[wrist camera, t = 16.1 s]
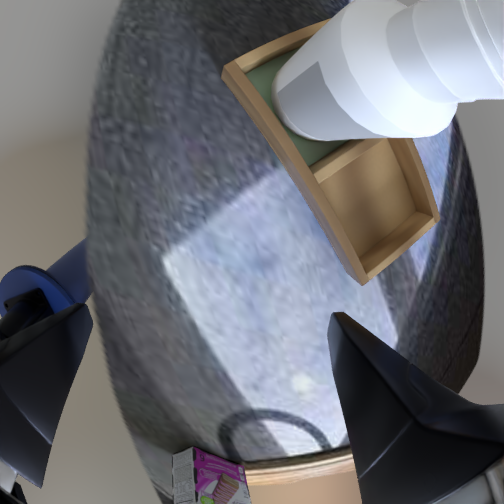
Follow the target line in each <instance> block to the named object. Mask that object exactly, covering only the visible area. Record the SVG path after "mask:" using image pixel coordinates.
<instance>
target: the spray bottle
mask: <svg viewBox="0 0 504 504" xmlns="http://www.w3.org/2000/svg"><path fill="white" fill-rule="evenodd" d="M477 99H504V0H426V1H419V2H417V3H415V4H413V5H411V6H409V7H408V6H406V5H404V4H402V3H400V2H398V1H396V0H354V1H352V2H351V3H350V4H348V5H347V6H346V7H344V8H343V9H342V10H341V11H340V12H339V13H337V14H336V15H335V16H334V17H333V18H332V19H331V20H330V21H328V22H327V23H326V24H325V25H324V26H323V27H322V28H321V29H320V30H319V31H318V32H317V33H315V34H314V35H313V36H312V37H311V38H310V39H309V40H308V41H307V42H306V43H305V44H304V45H303V46H302V47H301V48H300V49H299V50H298V51H297V52H296V53H295V54H294V55H293V56H292V57H291V58H290V59H289V60H288V61H287V62H286V63H285V65H284V66H283V67H282V68H281V69H280V70H279V71H278V72H277V73H276V76H275V78H274V80H273V82H272V86H271V100H272V104H273V107H274V111H275V113H276V114H277V116H278V117H279V119H280V120H281V122H282V124H283V125H284V126H286V127H287V128H288V129H289V130H290V131H291V132H293V133H294V134H296V135H298V136H300V137H302V138H304V139H307V140H313V141H320V142H321V141H333V140H347V139H366V138H419V137H427V136H433V135H436V134H438V133H439V132H440V131H442V130H443V129H445V128H446V127H447V126H448V125H449V123H450V122H451V120H452V118H453V116H454V115H455V113H456V110H457V105H458V102H473V101H475V100H477Z"/></svg>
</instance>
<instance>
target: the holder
mask: <svg viewBox="0 0 504 504" xmlns="http://www.w3.org/2000/svg"><path fill="white" fill-rule="evenodd" d="M331 19H332V18H331ZM331 19H327V20H324V21H321V22H319V23H316V24H313V25H310V26H307V27H305V28H302V29H300V30H297V31H294V32H292V33H290V34H287V35H285V36H282V37H280V38H278V39H276V40H273V41H271V42H269V43H267V44H265V45H262V46H260V47H258V48H256V49H254V50H252V51H250V52H248V53H246V54H244V55H242V56H240V57H239V58H237V59H235V60H233V61H231V62H229V63H228V64H226V65H224V67H223V71H222V76H221V79H222V80H223V81H224V82H225V84H226V85H227V86H228V88H229V89H230V90H231V92H232V93H233V94H234V96H235V97H236V98H237V100H238V101H239V102H240V104H241V105H242V106H243V108H244V109H245V111H246V112H247V113H248V115H249V116H250V117H251V119H252V120H253V122H254V123H255V125H256V126H257V127H258V129H259V130H260V132H261V133H262V135H263V136H264V137H265V139H266V140H267V142H268V143H269V145H270V146H271V148H272V149H273V151H274V152H275V154H276V155H277V157H278V158H279V160H280V161H281V163H282V164H283V166H284V167H285V169H286V170H287V172H288V174H289V175H290V177H291V178H292V180H293V181H294V183H295V185H296V186H297V188H298V189H299V191H300V193H301V194H302V196H303V197H304V199H305V201H306V202H307V204H308V206H309V207H310V209H311V211H312V212H313V214H314V216H315V217H316V219H317V221H318V222H319V224H320V226H321V228H322V229H323V231H324V233H325V234H326V236H327V238H328V240H329V241H330V243H331V245H332V247H333V249H334V250H335V252H336V254H337V256H338V258H339V259H340V261H341V263H342V265H343V267H344V269H345V270H346V272H347V273H348V274H349V275H350V276H351V277H352V278H353V279H354V280H356V281H357V282H358V283H359V284H360V285H361V286H363V285H365V284H366V283H367V282H368V281H369V280H371V279H372V278H373V277H375V276H376V275H377V274H378V273H380V272H381V271H382V270H383V269H384V268H386V267H387V266H388V265H389V264H390V263H392V262H393V261H394V260H395V259H396V258H398V257H399V256H400V255H401V254H402V253H403V252H405V251H406V250H407V249H408V248H409V247H410V246H412V245H413V244H414V243H415V242H416V241H417V240H418V239H419V238H421V237H422V236H423V235H424V234H425V233H426V232H427V231H428V230H429V229H430V228H431V227H433V226H434V225H435V224H436V223H437V222H438V221H439V220H440V216H439V212H438V209H437V205H436V202H435V199H434V196H433V192H432V189H431V186H430V183H429V180H428V178H427V175H426V172H425V169H424V167H423V164H422V161H421V159H420V156H419V154H418V151H417V149H416V146H415V144H414V142H413V139H412V138H366V139H347V140H333V141H321V142H320V141H313V140H307V139H304V138H302V137H300V136H298V135H296V134H294V133H293V132H291V131H290V130H289V129H288V128H287V127H286V126H284V125H283V124H282V122H281V120H280V119H279V117H278V116H277V114H276V113H275V111H274V107H273V104H272V100H271V86H272V82H273V80H274V78H275V76H276V73H277V72H278V71H279V70H280V69H281V68H282V67H283V66H284V65H285V63H286V62H287V61H288V60H289V59H290V58H291V57H292V56H293V55H294V54H295V53H296V52H297V51H298V50H299V49H300V48H301V47H302V46H303V45H304V44H305V43H306V42H307V41H308V40H309V39H310V38H311V37H312V36H313V35H314V34H315V33H317V32H318V31H319V30H320V29H321V28H322V27H323V26H324V25H325V24H326V23H327V22H328V21H330V20H331Z"/></svg>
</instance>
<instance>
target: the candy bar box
mask: <svg viewBox="0 0 504 504" xmlns="http://www.w3.org/2000/svg"><path fill="white" fill-rule="evenodd" d="M172 482H173V504H251V499H250V495H249V490H248V485H247V480H246V475H245V470H244V466H242V465H239V464H236V463H233V462H230V461H227V460H225V459H222V458H219V457H217V456H214V455H212V454H209V453H207V452H205V451H202V450H200V449H198V448H196V447H190V448H187V449H185V450H183V451H181V452H178V453H176V454H173V455H172Z"/></svg>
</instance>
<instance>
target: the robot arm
mask: <svg viewBox="0 0 504 504" xmlns="http://www.w3.org/2000/svg"><path fill="white" fill-rule="evenodd" d="M38 292H39V294H40V295H39V294H38ZM3 304H4V307H5V309H6V311H7V313H6V314H5V315H4V316H3V317H2V318H1V319H0V504H27V502H26V499H25V496H24V494H23V491H22V488H21V485H19V484H18V483H17V482H15V481H16V478H17V475H18V474H19V475H20V476H22V477H23V478H25V479H26V480H28V481H29V482H31V483H32V484H34V485H36V486H37V487H39V488H41V487H42V485H43V480H44V475H45V471H46V467H47V463H48V458H49V454H50V451H51V447H52V442H53V439H54V436H55V433H56V429H57V426H58V423H59V420H60V417H61V414H62V411H63V407H64V405H65V402H66V399H67V396H68V394H69V391H70V388H71V386H72V383H73V380H74V378H75V375H76V373H77V370H78V367H79V365H80V363H81V360H82V358H83V355H84V352H85V348H86V345H87V342H88V339H89V336H90V333H91V330H92V327H93V320H92V317H91V315H90V312H89V309H88V306H87V305H86V304H84V303H75V304H73V305H71V306H69V307H67V308H65V309H63V310H61V311H59V312H57V313H54V311H53V309H52V308H51V306H50V304H49V302H48V300H47V298H46V296H45V294H44V292H43V290H42V289H41V288H39V287H38V288H35V289H32V290H30V291H27V292H24V293H22V294H19V295H17V296H14V297H12V298H9V299H7V300H5V301H4V303H3ZM327 337H328V344H329V350H330V357H331V365H332V371H333V376H334V381H335V384H336V388H337V392H338V396H339V400H340V404H341V408H342V412H343V416H344V420H345V424H346V428H347V432H348V437H349V441H350V445H351V450H352V454H353V459H354V463H355V468H356V473H357V478H358V479H359V480H358V483H359V488H360V493H361V499H362V504H504V404H496V405H479V404H475V403H472V402H470V401H468V400H466V399H465V398H463V397H461V396H460V395H458V394H456V393H455V392H453V391H452V390H450V389H448V388H447V387H445V386H443V385H442V384H440V383H439V382H437V381H436V380H434V379H433V378H431V377H430V376H428V375H427V374H425V373H424V372H423V371H421V370H420V369H419V368H417V367H416V366H415V365H413V364H410V362H409V361H408V360H407V359H405V358H404V357H403V356H401V355H400V354H399V353H397V352H396V351H395V350H393V349H392V348H391V347H389V346H388V345H387V344H385V343H384V342H383V341H382V340H380V339H379V338H378V337H376V336H375V335H374V334H372V333H371V332H370V331H368V330H367V329H366V328H364V327H363V326H362V325H360V324H359V323H358V322H356V321H355V320H354V319H352V318H351V317H350V316H348V315H347V314H346V313H344V312H333V313H332V314H331V317H330V322H329V327H328V333H327Z"/></svg>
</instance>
